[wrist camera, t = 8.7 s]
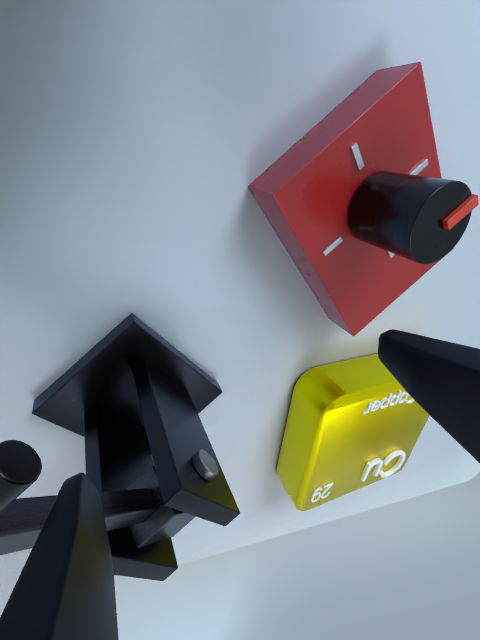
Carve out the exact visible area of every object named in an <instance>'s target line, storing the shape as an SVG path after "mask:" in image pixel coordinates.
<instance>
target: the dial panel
mask: <svg viewBox="0 0 480 640" xmlns="http://www.w3.org/2000/svg"><path fill="white" fill-rule="evenodd" d="M380 171H389V172H396V173H403V174H411V175H418V176H425V177H433V178H440V179H442V178H441V173H440V167H439V161H438V156H437V150H436V144H435V139H434V133H433V127H432V122H431V116H430V111H429V105H428V99H427V94H426V88H425V82H424V77H423V71H422V65H421V62H417V63H412V64H407V65H401V66H396V67H391V68H386V69H381V70H377V71H376V72H375V73H374V74H373V75H371V76H370V77H369V78H368V79H367V80H366V81H365V82H364V83H363V84H361V85H360V86H359V87H358V88H357V89H356V90H355V91H354V92H353V93H351V94H350V95H349V96H348V97H347V98H346V99H345V100H344V101H343V102H341V103H340V104H339V105H338V106H337V107H336V108H335V109H334V110H333V111H331V112H330V113H329V114H328V115H327V116H326V117H325V118H324V119H323V120H321V121H320V122H319V123H318V124H317V125H316V126H315V127H314V128H313V129H311V130H310V131H309V132H308V133H307V134H306V135H305V136H304V137H303V138H301V139H300V140H299V141H298V142H297V143H296V144H295V145H294V146H293V147H291V148H290V149H289V150H288V151H287V152H286V153H285V154H284V155H283V156H281V157H280V158H279V159H278V160H277V161H276V162H275V163H274V164H273V165H271V166H270V167H269V168H268V169H267V170H266V171H265V172H264V173H263V174H261V175H260V176H259V177H258V178H257V179H256V180H255V181H254V182H252V183H251V184H250V185H249V186H248V188H249V190H250V191H251V193H252V195H253V196H254V198H255V200H256V201H257V203H258V204H259V206H260V208H261V209H262V211H263V212H264V214H265V216H266V217H267V219H268V221H269V222H270V224H271V225H272V227H273V229H274V230H275V232H276V233H277V235H278V237H279V238H280V240H281V241H282V243H283V245H284V246H285V248H286V250H287V251H288V253H289V254H290V256H291V258H292V259H293V261H294V262H295V264H296V266H297V267H298V269H299V271H300V272H301V274H302V275H303V277H304V279H305V280H306V282H307V283H308V285H309V287H310V288H311V290H312V292H313V293H314V295H315V296H316V298H317V300H318V301H319V303H320V304H321V306H322V308H323V309H324V311H325V312H326V314H327V316H328V317H329V319H331V320H332V321H333V322H335V323H336V324H337V325H339V326H340V327H341V328H343V329H344V330H345V331H347V332H348V333H349V334H351V335H352V336H355V335H356V334H357V333H358V332H359V331H361V330H362V329H363V328H364V327H365V326H366V325H367V324H368V323H370V322H371V321H372V320H373V319H374V318H375V317H376V316H377V315H379V314H380V313H381V312H382V311H383V310H384V309H385V308H387V307H388V306H389V305H390V304H391V303H392V302H393V301H394V300H396V299H397V298H398V297H399V296H400V295H401V294H402V293H403V292H405V291H406V290H407V289H408V288H409V287H410V286H411V285H413V284H414V283H415V282H416V281H417V280H418V279H419V278H420V277H422V276H423V275H424V274H425V273H426V272H427V271H428V270H429V269H431V268H432V267H433V266H434V265H435V264H436V263H437V262H438V261H440V260H441V259H440V260H438V261H436V262H434V263H431V264H419V263H417V262H414V261H412V260H409V259H407V258H404V257H401V256H399V255H396V254H394V253H391V252H389V251H386V250H384V249H381V248H378V247H376V246H373V245H371V244H368V243H366V242H363V241H361V240H358V239H357V238H355V237H354V236H353V234H352V233H351V231H350V228H349V225H348V210H349V206H350V202H351V200H352V197H353V195H354V193H355V191H356V190H357V188H358V187H359V186H360V184H361V183H362V182H363V181H364V180H365V179H366V178H368V177H369V176H371V175H372V174H375V173H377V172H380Z"/></svg>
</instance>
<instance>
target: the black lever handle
mask: <svg viewBox="0 0 480 640" xmlns="http://www.w3.org/2000/svg"><path fill="white" fill-rule="evenodd" d="M41 469H42V464H41V460H40V458H39V456H38V454H37V453H36V451H35V450H34V449H33V448H32V447H30V446H29V445H27V444H26V443H24V442H21V441H17V440H8V441H4V442H1V443H0V555H3V554H7V553H12V552H16V551H21V550H25V549H29V548H33V547H34V544H35V542H36V540H37V538H38V536H39V534H40V532H41V529H42V527H43V525H44V523H45V521H46V519H47V517H48V515H49V512H50V510H51V508H52V506H53V504H54V502H55V500H56V498H57V496H44V497H32V498H20V499H16V498H17V497H18V496H19V495H20V494H21V493H22V492H24V491H25V490H26V489H27V488H28V487H29V486H30V485H31V484H33V483H34V482H35V481H36V480H37V479H38V477H39V475H40V473H41ZM99 494H100V497H101V502H102V508H103V513H104V518H105V523H106V529H107V531H109V530H113V529H118V528H122V527H126V526H129V527H130V530H131V532H132V535H133V537H134V540H135V543H136V545H137V547H138V548H140V547H143V546H146V545H149V544H152V543H155V542H158V541H161V540H164V539H167V538H170V537H173V536H174V535H175V534H176V533H178V532H179V531H180V530H181V529H182V528H183V527H184V526H186V525H187V524H188V523H189V522H190V521H191V520H192V519H193V518H195V517H196V516H194V515H191V514H188V513H185V512H182V511H179V510H176V509H173V508H170V507H167V506H165V505H164V504H163V501H162V496H161V492H160V488H159V484H158V479H157V475H156V471H155V466H152V467H151V468H150V469H148V470H147V471H146V472H145V473H144V474H143V475H142V476H141V477H139V478H138V479H137V480H136V481H135V482H134V483H133V484H131V485H130V486H129V487H128V488H127V489H126V490H118V491H106V492H99Z"/></svg>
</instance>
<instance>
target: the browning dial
mask: <svg viewBox="0 0 480 640" xmlns="http://www.w3.org/2000/svg"><path fill="white" fill-rule="evenodd" d="M478 204H479V203H478V195H474V194H471V191H470V189H469V187H468V186H467V185H466V184H464V183H463V182H460V181H455V180H447V179H440V178H433V177H425V176H418V175H411V174H403V173H396V172H389V171H380V172H377V173H375V174H372V175H371V176H369V177H368V178H366V179H365V180H364V181H363V182H362V183H361V184H360V186H359V187H358V188H357V190H356V191H355V193H354V195H353V197H352V200H351V202H350V206H349V210H348V225H349V228H350V231H351V233H352V234H353V236H354V237H355V238H357V239H358V240H361V241H363V242H366V243H368V244H371V245H373V246H376V247H378V248H381V249H384V250H386V251H389V252H391V253H394V254H396V255H399V256H401V257H404V258H407V259H409V260H412V261H414V262H417V263H419V264H431V263H434V262H436V261H438V260H440V259H442V258H443V257H444V256H446V255H447V254H448V253H449V252H450V251H451V250H452V249H453V248H454V247H455V245H456V244H457V243H458V241H459V240H460V238H461V237H462V235H463V233H464V231H465V230H466V227H467V225H468V223H469V220H470V216H471V212H472V210H473V209H474V208H475V207H476V206H477V205H478Z"/></svg>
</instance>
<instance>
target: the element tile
mask: <svg viewBox="0 0 480 640" xmlns="http://www.w3.org/2000/svg"><path fill="white" fill-rule="evenodd" d="M428 417H429V414H428V413H427V412H426V411H425V410H424V409H423V408H422V407H421V406H420V405H419V404H418V403H417V402H416V401H415V400H414V399H413V398H412V397H411V396H410V395H409V394H408V393H407V392H406V390H405V389H404V388H403V387H402V386H401V385H400V383H399V382H398V381H397V380H396V379H395V378H394V376H393V375H392V374H391V373H390V372H389V371H388V369H387V368H386V367H385V366H384V365H383V364H382V362H381V361H380V359H379V357H378V353H377V354H372V355H368V356H363V357H358V358H353V359H349V360H344V361H339V362H335V363H330V364H325V365H320V366H316V367H314V368H311V369H309V370H308V371H306V372H305V373H304V374H302V375H301V376H300V378H299V379H298V381H297V382H296V384H295V387H294V390H293V395H292V399H291V404H290V408H289V413H288V418H287V422H286V427H285V432H284V436H283V441H282V446H281V450H280V455H279V460H278V464H277V469H276V470H277V475H278V477H279V479H280V481H281V482H282V484H283V486H284V488H285V489H286V491H287V493H288V495H289V496H290V498H291V500H292V501H293V503H294V505H295V507H296V508H297V509H298V510H301V511H306V510H309V509H311V508H314V507H316V506H319V505H321V504H323V503H326V502H328V501H331V500H333V499H335V498H338V497H340V496H343V495H345V494H347V493H350V492H352V491H354V490H357V489H359V488H362V487H364V486H366V485H369V484H371V483H374V482H376V481H378V480H381V479H383V478H386V477H388V476H390V475H393V474H395V473H397V472H399V471H400V470H401V469H402V468H403V467H404V465H405V463H406V461H407V460H408V458H409V456H410V454H411V452H412V450H413V448H414V445H415V443H416V441H417V439H418V437H419V435H420V433H421V431H422V429H423V427H424V425H425V423H426V421H427V419H428Z"/></svg>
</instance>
